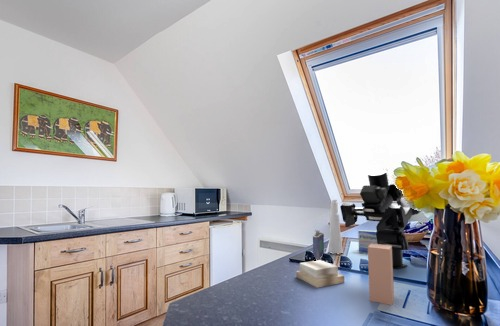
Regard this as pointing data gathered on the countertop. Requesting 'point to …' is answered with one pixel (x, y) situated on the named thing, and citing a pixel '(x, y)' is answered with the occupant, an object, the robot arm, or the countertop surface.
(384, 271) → the pillar
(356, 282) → the countertop surface
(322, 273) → the tower top slab
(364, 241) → the medicine box
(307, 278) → the tower base slab
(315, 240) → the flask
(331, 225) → the cosmetic bottle
